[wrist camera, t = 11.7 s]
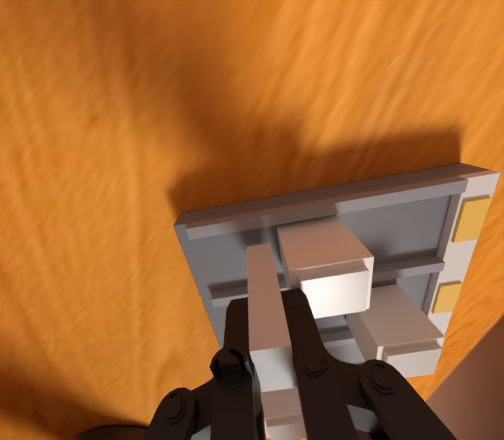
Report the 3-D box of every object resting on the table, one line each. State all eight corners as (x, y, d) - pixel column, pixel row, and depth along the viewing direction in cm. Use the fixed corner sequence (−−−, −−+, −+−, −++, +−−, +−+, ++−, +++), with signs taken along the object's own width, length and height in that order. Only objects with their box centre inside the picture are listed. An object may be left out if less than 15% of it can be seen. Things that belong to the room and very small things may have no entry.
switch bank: (236, 368, 25) (236, 397, 22) (181, 213, 16) (169, 232, 14) (414, 343, 24) (434, 370, 22) (461, 162, 15) (503, 173, 13)
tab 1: (262, 379, 22) (267, 444, 18) (257, 359, 21) (260, 425, 16) (301, 373, 22) (315, 438, 18) (298, 353, 21) (313, 418, 16)
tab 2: (282, 267, 16) (297, 326, 12) (276, 225, 14) (290, 276, 10) (336, 258, 16) (373, 315, 11) (336, 215, 14) (378, 261, 10)
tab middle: (345, 321, 19) (377, 385, 15) (346, 291, 17) (381, 353, 13) (392, 314, 19) (438, 376, 14) (397, 283, 17) (451, 343, 13)
